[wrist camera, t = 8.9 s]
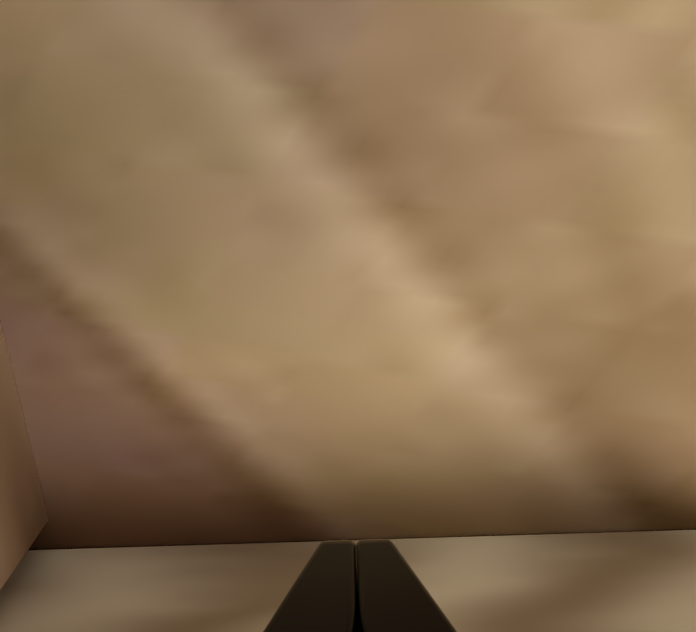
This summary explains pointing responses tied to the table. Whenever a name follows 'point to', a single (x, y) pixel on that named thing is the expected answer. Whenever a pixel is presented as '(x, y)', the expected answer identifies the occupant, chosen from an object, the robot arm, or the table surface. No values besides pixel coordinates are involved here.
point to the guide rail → (420, 553)
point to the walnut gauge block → (16, 476)
